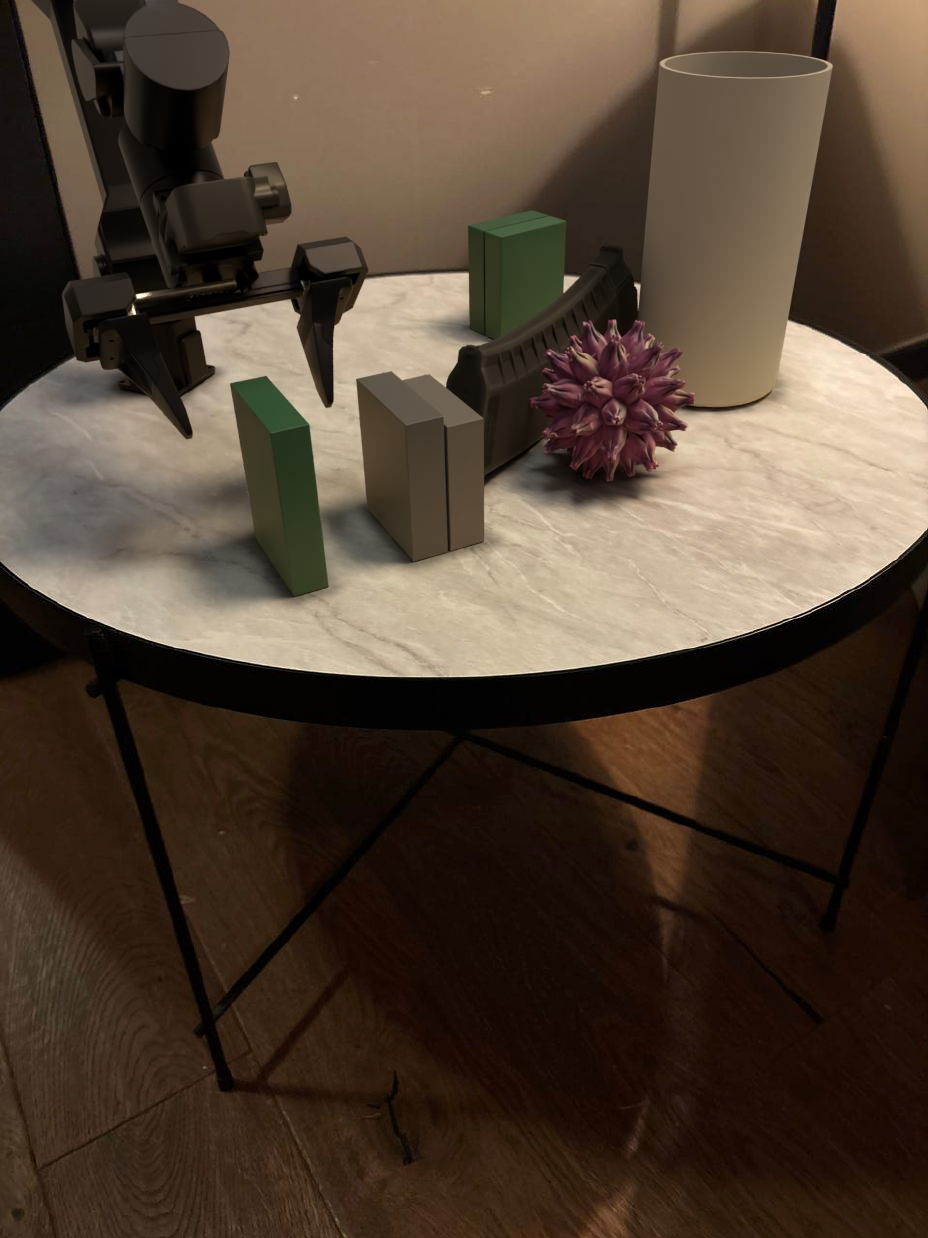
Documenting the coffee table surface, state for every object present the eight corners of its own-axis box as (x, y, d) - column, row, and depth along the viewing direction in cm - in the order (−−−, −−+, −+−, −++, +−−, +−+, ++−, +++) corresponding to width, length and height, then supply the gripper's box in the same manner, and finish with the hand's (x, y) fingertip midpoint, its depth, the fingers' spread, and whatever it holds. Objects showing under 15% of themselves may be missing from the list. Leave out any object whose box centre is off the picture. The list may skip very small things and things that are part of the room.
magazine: (453, 399, 67) (635, 164, 81) (412, 389, 68) (597, 159, 83) (490, 569, 80) (641, 340, 95) (455, 558, 82) (609, 334, 96)
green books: (500, 342, 98) (500, 236, 92) (469, 328, 102) (467, 224, 96) (562, 323, 102) (566, 220, 96) (530, 310, 105) (532, 209, 100)
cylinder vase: (634, 408, 86) (663, 78, 71) (630, 351, 96) (656, 51, 81) (785, 413, 85) (847, 78, 70) (766, 355, 95) (817, 50, 80)
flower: (517, 469, 81) (643, 410, 84) (596, 534, 72) (734, 466, 75) (487, 335, 74) (625, 276, 76) (570, 389, 65) (724, 320, 67)
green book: (255, 538, 71) (229, 382, 64) (288, 529, 71) (266, 375, 65) (293, 597, 65) (270, 432, 58) (329, 586, 66) (309, 423, 59)
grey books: (366, 508, 74) (355, 378, 68) (434, 490, 76) (428, 362, 70) (413, 562, 68) (405, 425, 62) (484, 541, 70) (483, 406, 64)
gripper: (21, 134, 55) (109, 400, 53) (344, 98, 61) (430, 334, 60) (38, 246, 65) (112, 471, 64) (312, 205, 72) (385, 408, 70)
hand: (261, 420), depth 64 cm, fingers open, 9 cm apart
